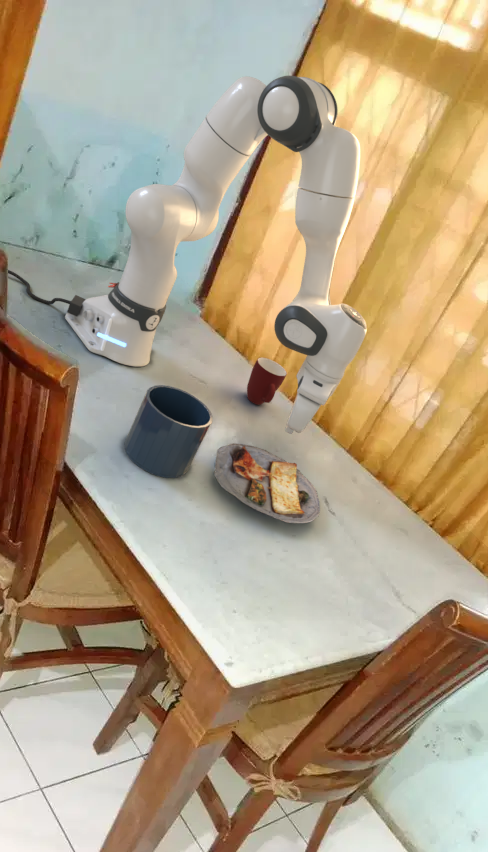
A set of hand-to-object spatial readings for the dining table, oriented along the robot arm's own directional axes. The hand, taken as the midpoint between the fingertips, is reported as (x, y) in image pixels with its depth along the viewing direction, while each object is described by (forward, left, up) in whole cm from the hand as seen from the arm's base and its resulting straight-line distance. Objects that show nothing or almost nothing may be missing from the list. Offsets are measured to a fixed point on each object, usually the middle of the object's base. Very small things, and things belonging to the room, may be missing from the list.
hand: (288, 430), depth 161 cm
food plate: (+10, -16, -6) cm, 20 cm away
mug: (-17, +11, -6) cm, 21 cm away
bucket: (-5, -34, -6) cm, 35 cm away
